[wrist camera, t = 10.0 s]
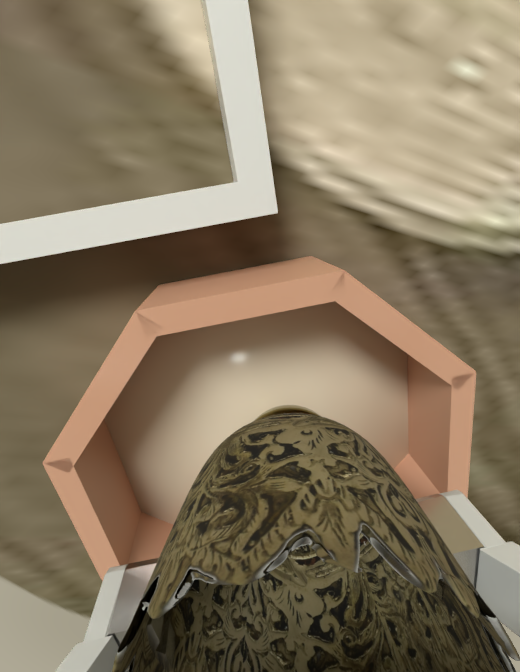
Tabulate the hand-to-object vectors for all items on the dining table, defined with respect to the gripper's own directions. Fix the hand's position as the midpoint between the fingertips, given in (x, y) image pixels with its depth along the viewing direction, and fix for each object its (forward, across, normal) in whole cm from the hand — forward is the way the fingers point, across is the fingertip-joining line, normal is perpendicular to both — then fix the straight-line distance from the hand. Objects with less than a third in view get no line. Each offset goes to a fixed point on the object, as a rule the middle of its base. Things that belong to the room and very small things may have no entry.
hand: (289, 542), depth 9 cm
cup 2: (+5, -1, 0) cm, 5 cm away
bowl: (+6, 0, 0) cm, 6 cm away
